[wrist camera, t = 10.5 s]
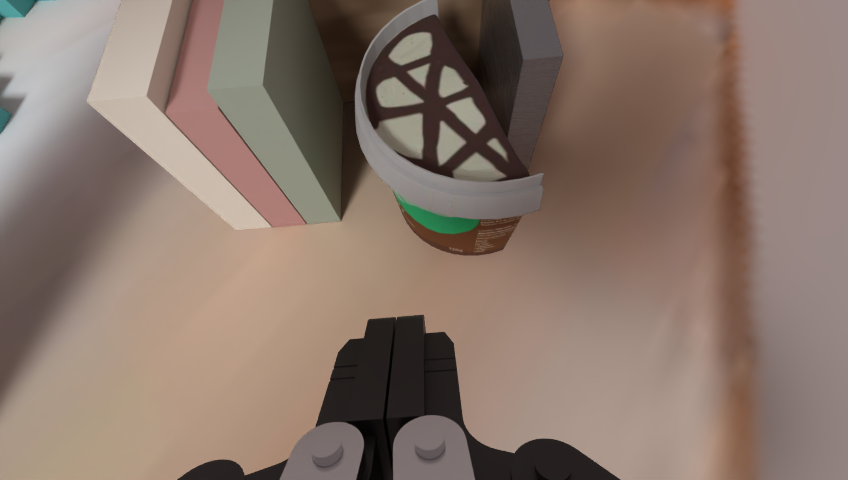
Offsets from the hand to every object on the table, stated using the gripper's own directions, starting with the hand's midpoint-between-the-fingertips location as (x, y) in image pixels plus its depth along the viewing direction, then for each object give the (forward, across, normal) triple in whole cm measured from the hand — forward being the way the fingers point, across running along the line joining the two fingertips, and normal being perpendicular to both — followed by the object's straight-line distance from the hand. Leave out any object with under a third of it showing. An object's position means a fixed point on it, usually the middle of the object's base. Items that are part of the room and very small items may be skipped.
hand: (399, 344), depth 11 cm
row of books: (+20, +8, -2) cm, 21 cm away
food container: (+16, -1, +1) cm, 17 cm away
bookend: (+19, -6, -2) cm, 20 cm away
